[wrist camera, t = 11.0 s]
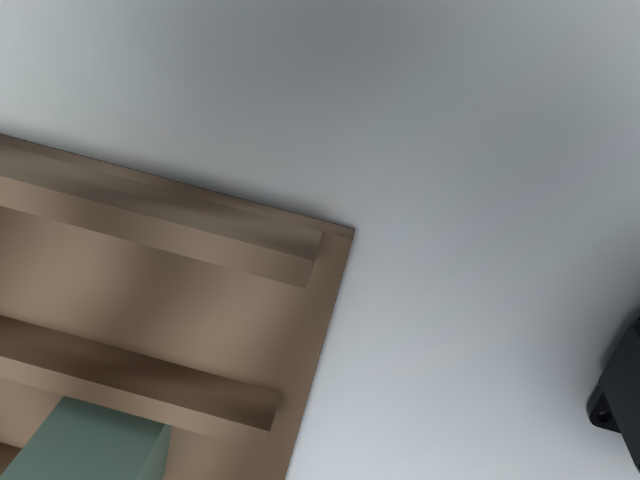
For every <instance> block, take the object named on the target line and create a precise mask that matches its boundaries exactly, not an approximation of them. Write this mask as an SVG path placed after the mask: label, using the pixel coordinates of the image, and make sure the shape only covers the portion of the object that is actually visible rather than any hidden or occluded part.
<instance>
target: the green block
mask: <svg viewBox="0 0 640 480" xmlns="http://www.w3.org/2000/svg"><path fill="white" fill-rule="evenodd" d="M171 429H172V426H171V425H168V424H164V423H161V422H157V421H154V420H150V419H146V418H143V417H139V416H136V415H132V414H129V413H125V412H122V411H118V410H114V409H111V408H107V407H104V406H100V405H97V404H93V403H90V402H86V401H83V400H79V399H75V398H72V397H68V396H65V395H64V397H63V398H62V399H61V400H60V402H59V403H58V404H57V405H56V407H55V408H54V409H53V410H52V412H51V413H50V414H49V415H48V417H47V418H46V419H45V420H44V422H43V423H42V424H41V426H40V427H39V428H38V429H37V431H36V432H35V433H34V434H33V436H32V437H31V438H30V439H29V441H28V442H27V443H26V444H25V446H24V447H23V448H22V449H21V451H20V452H19V453H18V454H17V456H16V457H15V458H14V460H13V461H12V462H11V463H10V465H9V466H8V467H7V468H6V470H5V471H4V472H3V473H2V475H1V476H0V480H162V478H163V476H164V474H165V467H166V461H167V455H168V448H169V442H170V435H171Z"/></svg>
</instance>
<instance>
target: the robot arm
mask: <svg viewBox="0 0 640 480" xmlns="http://www.w3.org/2000/svg"><path fill="white" fill-rule="evenodd" d="M599 383H600V385H599V387H598V388H597V390H596V392H595V393H594V395H593V397H592V398H591V400H590V402H589V404H588V405H587V409H586V411H587V414H588V417H589V420H590V422H591V423H592V424H593V425H595V426H597V427H600V428H603V429H607V430H611V431H614V432H618V433H621V434H622V436H623V438H624V441H625V443H626V445H627V448H628V450H629V452H630V454H631V457H632V459H633V461H634V464H635V466H636V468H637V470H638V472H639V473H640V317H639V318H638V320H637V321H636V322H635V323H633V324H632V325H630V326H629V328H628V330H627V332H626V333H625V335H624V337H623V339H622V340H621V342H620V344H619V345H618V347H617V349H616V351H615V352H614V354H613V356H612V357H611V359H610V361H609V363H608V364H607V366H606V368H605V369H604V371H603V373H602V375H601V376H600V378H599ZM603 411H607V413H605V414H602V415H601V414H599V413H600V412H603Z"/></svg>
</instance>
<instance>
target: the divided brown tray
mask: <svg viewBox="0 0 640 480" xmlns="http://www.w3.org/2000/svg"><path fill="white" fill-rule="evenodd" d="M354 231H355V229H351V228H348V227H344V226H340V225H337V224H333V223H329V222H325V221H322V220H318V219H314V218H311V217H307V216H303V215H299V214H296V213H292V212H288V211H285V210H281V209H277V208H273V207H270V206H266V205H262V204H259V203H255V202H251V201H247V200H244V199H240V198H236V197H233V196H229V195H225V194H221V193H218V192H214V191H210V190H207V189H203V188H199V187H195V186H192V185H188V184H184V183H181V182H177V181H173V180H169V179H166V178H162V177H158V176H155V175H151V174H147V173H143V172H140V171H136V170H132V169H129V168H125V167H121V166H117V165H114V164H110V163H106V162H103V161H99V160H95V159H91V158H88V157H84V156H80V155H77V154H73V153H69V152H65V151H62V150H58V149H54V148H51V147H47V146H43V145H39V144H36V143H32V142H28V141H25V140H21V139H17V138H13V137H10V136H6V135H2V134H0V476H1V475H2V473H3V472H4V471H5V470H6V468H7V467H8V466H9V465H10V463H11V462H12V461H13V460H14V458H15V457H16V456H17V454H18V453H19V452H20V451H21V449H22V448H23V447H24V446H25V444H26V443H27V442H28V441H29V439H30V438H31V437H32V436H33V434H34V433H35V432H36V431H37V429H38V428H39V427H40V426H41V424H42V423H43V422H44V420H45V419H46V418H47V417H48V415H49V414H50V413H51V412H52V410H53V409H54V408H55V407H56V405H57V404H58V403H59V402H60V400H61V399H62V398H63V397H64V395H65V396H68V397H72V398H75V399H79V400H83V401H86V402H90V403H93V404H97V405H100V406H104V407H107V408H111V409H114V410H118V411H122V412H125V413H129V414H132V415H136V416H139V417H143V418H146V419H150V420H154V421H157V422H161V423H164V424H168V425H171V426H172V429H171V435H170V442H169V448H168V455H167V461H166V467H165V474H164V476H163V478H162V480H284V479H285V476H286V472H287V469H288V465H289V462H290V458H291V455H292V451H293V448H294V444H295V441H296V437H297V434H298V430H299V427H300V423H301V420H302V416H303V413H304V409H305V406H306V402H307V399H308V395H309V392H310V388H311V384H312V381H313V377H314V374H315V370H316V367H317V363H318V360H319V356H320V353H321V349H322V346H323V342H324V339H325V335H326V332H327V328H328V325H329V321H330V318H331V314H332V311H333V307H334V304H335V300H336V297H337V293H338V290H339V286H340V283H341V279H342V276H343V272H344V269H345V265H346V262H347V258H348V254H349V251H350V247H351V244H352V240H353V236H354Z"/></svg>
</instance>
